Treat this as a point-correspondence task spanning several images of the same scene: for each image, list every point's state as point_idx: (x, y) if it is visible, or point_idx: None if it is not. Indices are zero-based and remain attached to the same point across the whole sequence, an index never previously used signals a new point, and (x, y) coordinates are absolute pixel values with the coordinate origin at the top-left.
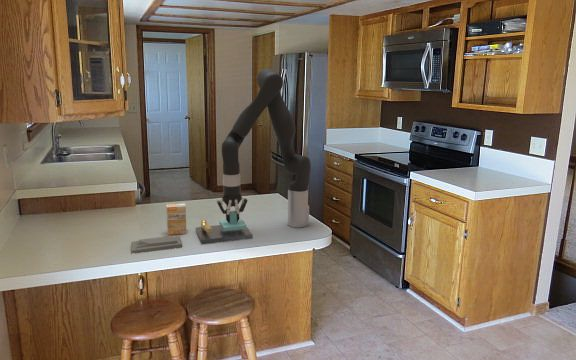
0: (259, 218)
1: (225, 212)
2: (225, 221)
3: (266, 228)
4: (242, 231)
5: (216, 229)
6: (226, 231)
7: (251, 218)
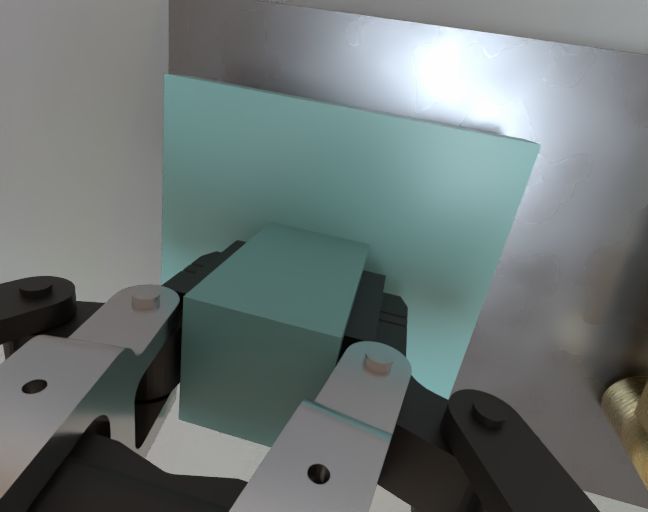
0: None
1: (427, 414)
2: None
3: (20, 212)
4: None
5: (489, 351)
6: None
7: None
